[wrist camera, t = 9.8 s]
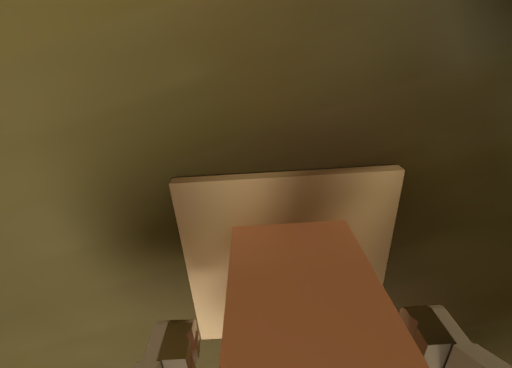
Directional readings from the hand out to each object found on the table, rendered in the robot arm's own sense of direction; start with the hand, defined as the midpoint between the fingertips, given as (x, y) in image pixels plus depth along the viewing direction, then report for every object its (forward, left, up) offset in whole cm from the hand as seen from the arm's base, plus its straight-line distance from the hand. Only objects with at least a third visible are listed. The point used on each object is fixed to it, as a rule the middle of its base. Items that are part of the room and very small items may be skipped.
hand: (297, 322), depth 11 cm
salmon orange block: (0, 0, -3) cm, 3 cm away
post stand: (0, 0, -4) cm, 4 cm away
